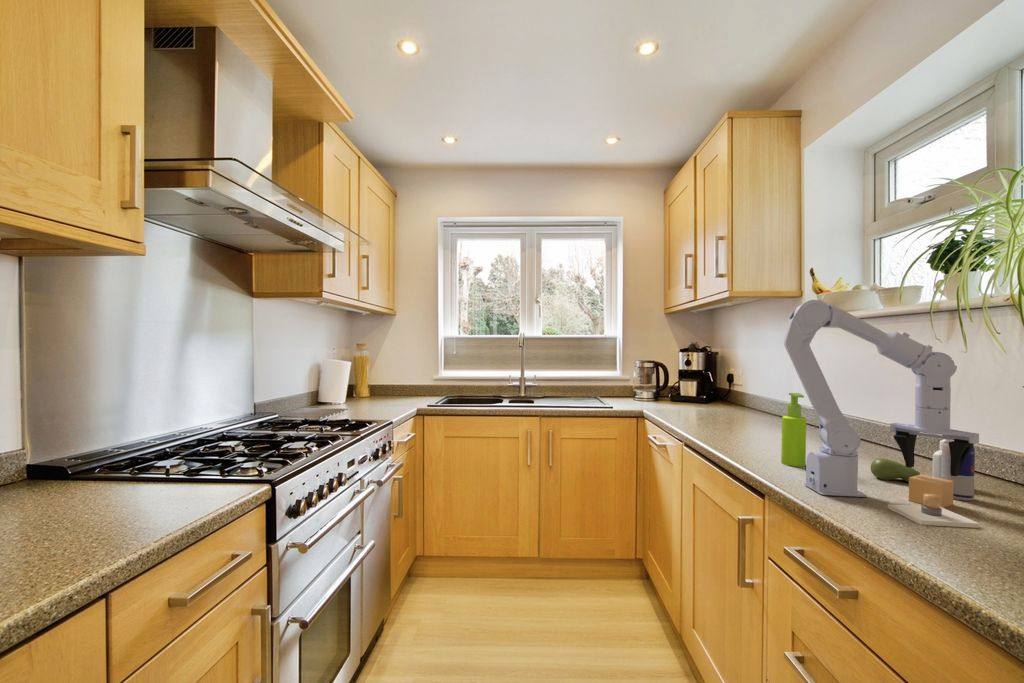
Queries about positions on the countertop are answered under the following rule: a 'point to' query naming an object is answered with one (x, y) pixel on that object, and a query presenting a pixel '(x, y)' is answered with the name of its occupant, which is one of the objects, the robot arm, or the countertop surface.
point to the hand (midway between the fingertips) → (931, 471)
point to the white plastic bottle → (938, 461)
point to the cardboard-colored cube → (931, 489)
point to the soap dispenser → (794, 434)
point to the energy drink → (965, 480)
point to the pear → (891, 470)
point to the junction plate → (933, 513)
